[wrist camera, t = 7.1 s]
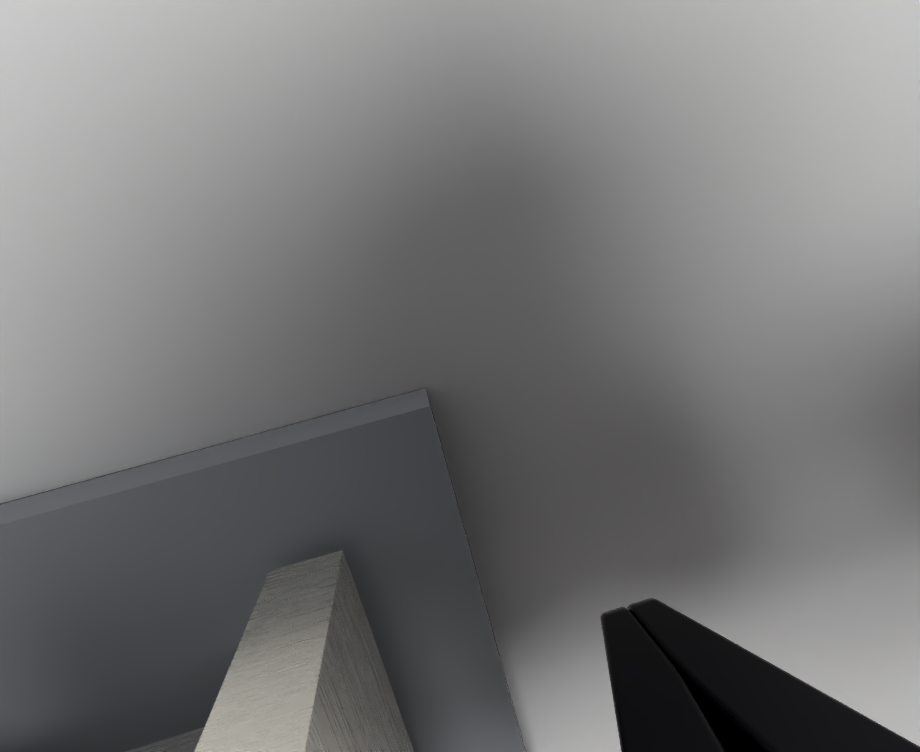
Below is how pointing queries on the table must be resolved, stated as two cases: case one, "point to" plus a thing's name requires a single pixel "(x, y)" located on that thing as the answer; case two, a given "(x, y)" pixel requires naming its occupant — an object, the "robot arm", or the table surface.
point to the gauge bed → (243, 583)
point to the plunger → (303, 674)
